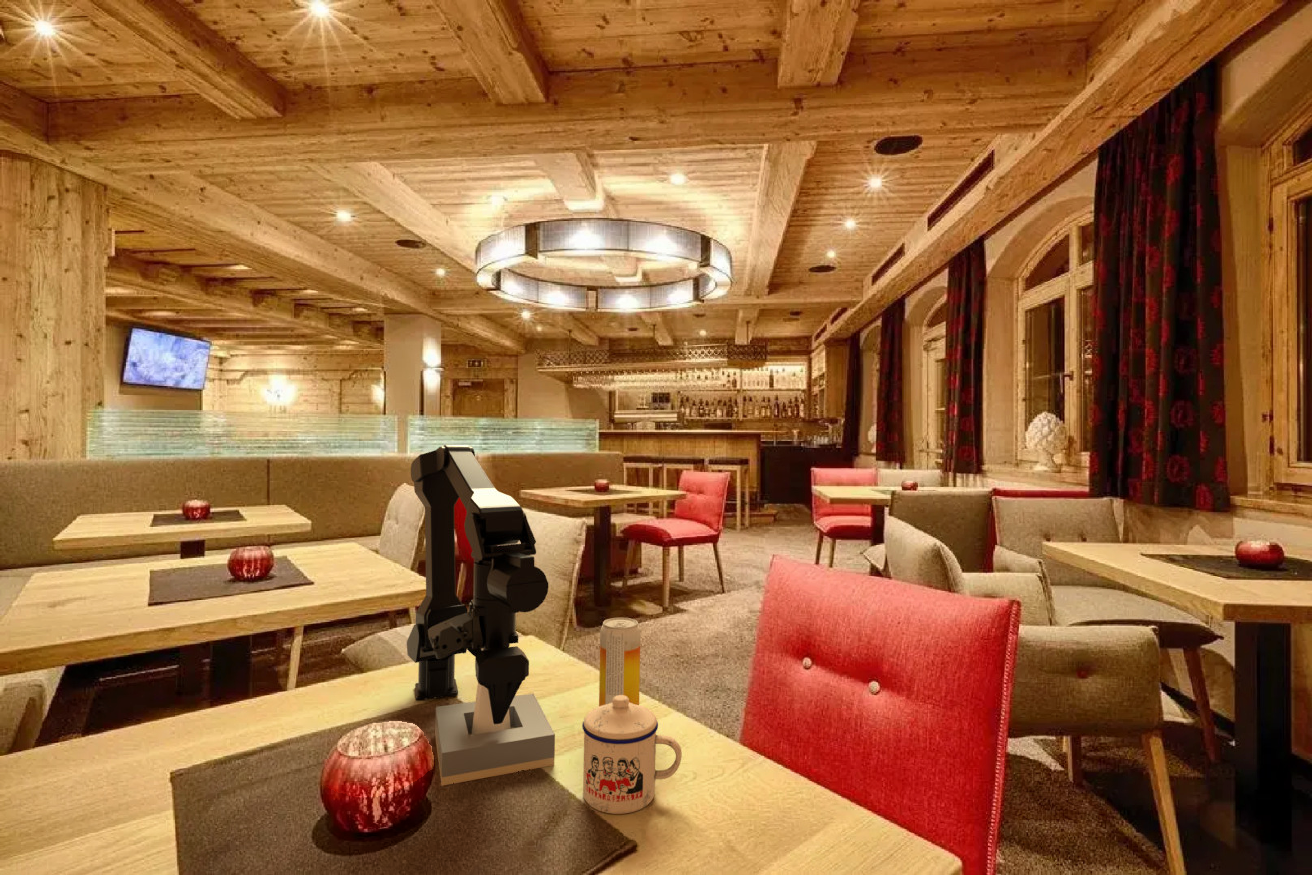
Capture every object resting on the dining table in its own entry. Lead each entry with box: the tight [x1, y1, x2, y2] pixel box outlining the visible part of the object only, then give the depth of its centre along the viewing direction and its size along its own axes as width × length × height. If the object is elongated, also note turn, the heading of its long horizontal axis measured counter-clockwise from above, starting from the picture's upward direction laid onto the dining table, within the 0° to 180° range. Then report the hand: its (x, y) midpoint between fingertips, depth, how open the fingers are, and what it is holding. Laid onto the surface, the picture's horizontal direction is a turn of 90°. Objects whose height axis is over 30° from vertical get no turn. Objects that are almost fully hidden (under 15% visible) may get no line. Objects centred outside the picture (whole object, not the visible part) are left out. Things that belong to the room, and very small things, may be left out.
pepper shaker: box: [471, 682, 511, 735], centre depth 86 cm, size 5×5×11 cm
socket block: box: [434, 692, 556, 787], centre depth 86 cm, size 14×14×4 cm
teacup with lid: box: [582, 695, 682, 815], centre depth 75 cm, size 12×9×12 cm
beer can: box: [598, 617, 641, 707], centre depth 95 cm, size 6×6×15 cm
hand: (492, 708), depth 86 cm, fingers open, 9 cm apart
